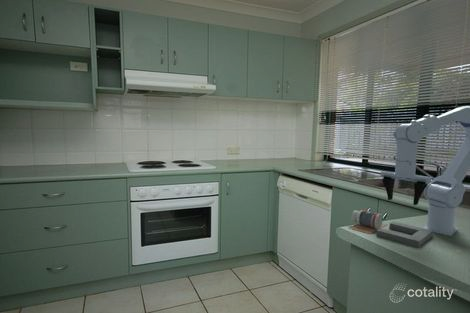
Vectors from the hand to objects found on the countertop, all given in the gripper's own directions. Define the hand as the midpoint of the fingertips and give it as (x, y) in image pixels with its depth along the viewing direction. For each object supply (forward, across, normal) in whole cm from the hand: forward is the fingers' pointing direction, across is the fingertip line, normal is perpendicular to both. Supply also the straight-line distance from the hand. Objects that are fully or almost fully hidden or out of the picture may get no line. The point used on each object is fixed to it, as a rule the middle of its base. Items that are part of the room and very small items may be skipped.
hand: (402, 201), depth 95 cm
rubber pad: (+10, -9, -4) cm, 14 cm away
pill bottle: (+7, -5, -4) cm, 10 cm away
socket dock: (+10, +1, -4) cm, 11 cm away
